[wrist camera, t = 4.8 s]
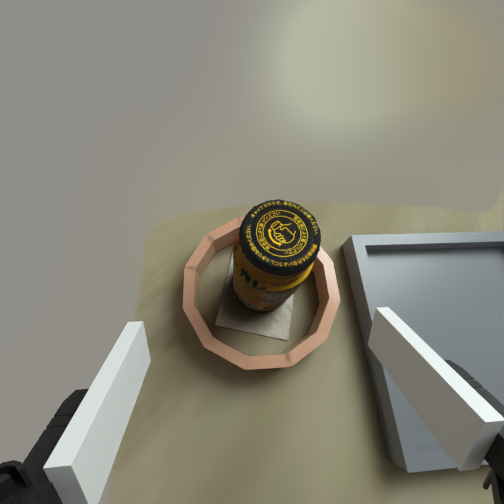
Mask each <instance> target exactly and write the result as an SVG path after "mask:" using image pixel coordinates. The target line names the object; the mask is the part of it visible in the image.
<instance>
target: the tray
mask: <svg viewBox="0 0 504 504" xmlns="http://www.w3.org/2000/svg"><path fill="white" fill-rule="evenodd" d="M342 247H343V252H344V256H345V261H346V265H347V270H348V274H349V279H350V284H351V288H352V293H353V297H354V302H355V307H356V311H357V316H358V320H359V325H360V329H361V334H362V339H363V343H364V348H365V352H366V357H367V362H368V366H369V371H370V375H371V380H372V384H373V389H374V394H375V398H376V403H377V407H378V412H379V417H380V421H381V426H382V430H383V435H384V440H385V444H386V449H387V453H388V458H389V461H391V462H392V463H394V464H395V465H397V466H398V467H400V468H401V469H403V470H404V471H406V472H407V473H413V472H422V471H431V470H441V469H450V468H457V467H456V465H455V464H454V463H453V461H452V460H451V459H450V457H449V456H448V455H447V453H446V452H445V450H444V449H443V448H442V446H441V445H440V444H439V442H438V441H437V439H436V438H435V437H434V435H433V434H432V433H431V431H430V430H429V428H428V427H427V426H426V424H425V423H424V422H423V420H422V419H421V417H420V416H419V415H418V413H417V412H416V411H415V409H414V408H413V407H412V405H411V404H410V402H409V401H408V400H407V398H406V397H405V396H404V394H403V393H402V391H401V390H400V389H399V387H398V386H397V385H396V383H395V382H394V380H393V379H392V378H391V376H390V375H389V374H388V372H387V371H386V369H385V368H384V367H383V365H382V364H381V363H380V361H379V360H378V359H377V357H376V356H375V354H374V353H373V352H372V350H371V349H370V348H369V346H368V341H369V337H370V332H371V327H372V323H373V318H374V314H375V309H376V308H379V307H389V308H390V309H391V310H392V311H393V312H394V313H395V314H396V315H397V316H398V317H399V318H400V319H401V320H402V321H403V322H404V323H406V324H407V325H408V326H409V327H410V328H411V329H412V330H413V331H414V332H415V333H416V334H417V335H418V336H419V337H420V338H421V339H422V340H423V341H424V342H425V343H426V344H427V345H428V346H429V347H431V348H432V349H433V350H434V351H435V352H436V353H437V354H438V355H439V356H440V357H441V358H442V359H443V360H451V361H452V362H454V363H455V364H457V365H459V366H460V367H462V368H463V369H464V370H466V371H467V372H468V373H469V374H470V375H471V376H472V377H473V378H474V380H476V381H478V382H479V383H480V384H481V385H482V386H483V388H484V389H486V390H487V391H488V392H490V393H491V394H492V395H493V396H494V397H495V398H496V399H497V400H498V401H499V402H500V403H502V404H503V405H504V231H497V232H459V233H422V234H384V235H351V236H350V237H349V238H348V239H347V240H346V242H345V243H344V244H343V245H342ZM487 464H488V463H487V462H486V460H485V459H484V461H483V462H482V464H481V465H487Z"/></svg>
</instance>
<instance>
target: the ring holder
mask: <svg viewBox="0 0 504 504" xmlns="http://www.w3.org/2000/svg"><path fill="white" fill-rule="evenodd" d="M244 218H245V217H238V218H236V219H234V220H232V221H230V222H228V223H227V224H225V225H223V226H221V227H219V228H217V229H215V230H213V231H212V232H210V233H208V234H206V235H205V236H204V238H203V239H202V241H201V242H200V244H199V246H198V247H197V249H196V250H195V252H194V253H193V255H192V256H191V258H190V259H189V261H188V262H187V264H186V265H185V267H184V288H183V310H184V312H185V313H186V315H187V317H188V319H189V321H190V323H191V324H192V326H193V328H194V330H195V332H196V333H197V335H198V337H199V339H200V341H201V343H202V344H203V346H204V348H206V349H208V350H210V351H212V352H214V353H215V354H217V355H219V356H221V357H223V358H224V359H226V360H228V361H230V362H232V363H233V364H235V365H237V366H239V367H241V368H242V369H244V370H252V369H266V368H281V367H292V366H293V365H294V364H296V363H297V362H298V361H300V360H301V359H302V358H304V357H305V356H306V355H307V354H309V353H310V352H311V351H313V350H314V349H315V348H317V347H318V346H319V345H320V344H322V343H323V342H324V341H326V340H327V337H328V334H329V332H330V329H331V326H332V323H333V320H334V317H335V315H336V312H337V309H338V306H339V303H340V301H341V300H340V295H339V290H338V285H337V280H336V275H335V270H334V265H333V261H332V260H331V259H330V258H329V256H328V255H327V254H326V253H325V251H324V250H323V249H322V248H321V246H320V251H319V252H318V255H317V257H316V258H315V261H314V264H313V267H312V271H313V273H314V274H315V280H316V286H317V292H318V298H319V307H318V309H317V312H316V315H315V317H314V320H313V322H312V325H311V328H310V330H309V333H308V335H306V336H305V337H304V338H302V339H301V340H300V341H298V342H297V343H295V344H294V345H293V346H291V347H290V348H289V349H287V350H286V351H285V352H283V353H282V354H277V355H262V356H246V355H244V354H242V353H240V352H239V351H237V350H235V349H233V348H231V347H229V346H228V345H226V344H224V343H222V342H220V341H218V340H217V339H215V338H214V336H213V334H212V333H211V331H210V329H209V327H208V326H207V324H206V322H205V320H204V319H203V317H202V315H201V313H200V312H199V278H200V277H201V275H202V273H203V272H204V270H205V269H206V267H207V265H208V264H209V262H210V260H211V259H212V257H213V256H214V254H215V253H216V252H217V251H219V250H221V249H223V248H225V247H226V246H228V245H230V244H232V243H233V242H235V240H236V238H237V236H238V234H239V232H240V226H241V224H242V221H243V219H244Z"/></svg>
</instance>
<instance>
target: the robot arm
mask: <svg viewBox="0 0 504 504" xmlns="http://www.w3.org/2000/svg"><path fill="white" fill-rule="evenodd" d="M368 346H369V348H370V349H371V350H372V352H373V353H374V354H375V356H376V357H377V359H378V360H379V361H380V363H381V364H382V365H383V367H384V368H385V369H386V371H387V372H388V374H389V375H390V376H391V378H392V379H393V380H394V382H395V383H396V385H397V386H398V387H399V389H400V390H401V391H402V393H403V394H404V396H405V397H406V398H407V400H408V401H409V402H410V404H411V405H412V407H413V408H414V409H415V411H416V412H417V413H418V415H419V416H420V417H421V419H422V420H423V422H424V423H425V424H426V426H427V427H428V428H429V430H430V431H431V433H432V434H433V435H434V437H435V438H436V439H437V441H438V442H439V444H440V445H441V446H442V448H443V449H444V450H445V452H446V453H447V455H448V456H449V457H450V459H451V460H452V461H453V463H454V464H455V465H456V467H457V468H458V470H459V471H468V470H477V469H479V468H480V466H481V464H482V462H483V461H484V459H485V460H486V462H487V463H488V464H489V465H490V466H491V467H492V469H491V471H490V472H489V474H488V476H487V477H486V479H485V481H484V483H483V488H484V489H486V490H487V489H488V487H489V485H490V484H491V485H492V491H493V498H494V504H504V405H503V404H502V403H500V402H499V401H498V400H497V399H496V398H495V397H494V396H493V395H492V394H491V393H490V392H488V391H487V390H486V389H484V388H483V386H482V385H481V384H480V383H479V382H478V381H476V380H474V378H473V377H472V376H471V375H470V374H469V373H468V372H467V371H466V370H464V369H463V368H462V367H460V366H459V365H457V364H455V363H454V362H452V361H451V360H443V359H442V358H441V357H440V356H439V355H438V354H437V353H436V352H435V351H434V350H433V349H432V348H431V347H429V346H428V345H427V344H426V343H425V342H424V341H423V340H422V339H421V338H420V337H419V336H418V335H417V334H416V333H415V332H414V331H413V330H412V329H411V328H410V327H409V326H408V325H407V324H406V323H404V322H403V321H402V320H401V319H400V318H399V317H398V316H397V315H396V314H395V313H394V312H393V311H392V310H391V309H390V308H389V307H379V308H376V309H375V314H374V318H373V323H372V327H371V332H370V337H369V341H368ZM150 361H151V359H150V354H149V349H148V344H147V339H146V334H145V329H144V325H143V321H139V322H128V323H127V325H126V327H125V328H124V330H123V332H122V334H121V335H120V337H119V339H118V340H117V342H116V344H115V346H114V347H113V349H112V351H111V352H110V354H109V356H108V357H107V359H106V361H105V363H104V364H103V366H102V368H101V370H100V371H99V373H98V375H97V376H96V378H95V380H94V382H93V383H92V385H91V387H90V388H89V389H82V390H75V391H74V392H73V393H72V394H71V395H70V396H69V397H68V398H67V399H66V400H65V401H64V402H63V403H62V404H61V406H60V407H59V409H58V410H57V412H56V414H55V415H54V418H52V420H51V421H50V423H49V424H48V426H47V429H46V430H44V432H43V433H42V435H41V436H40V438H39V440H38V441H37V443H36V444H35V445H34V447H33V448H32V450H31V452H30V453H29V455H28V456H27V458H26V459H25V461H24V462H23V464H22V463H21V462H18V461H14V460H13V461H8V462H3V463H1V464H0V504H98V503H99V500H100V498H101V495H102V492H103V490H104V487H105V484H106V481H107V479H108V476H109V473H110V470H111V468H112V465H113V462H114V460H115V457H116V454H117V451H118V449H119V446H120V443H121V440H122V438H123V435H124V432H125V430H126V427H127V424H128V421H129V419H130V416H131V413H132V410H133V408H134V405H135V402H136V400H137V397H138V394H139V391H140V389H141V386H142V383H143V380H144V378H145V375H146V372H147V369H148V367H149V364H150Z"/></svg>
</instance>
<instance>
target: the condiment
mask: <svg viewBox="0 0 504 504" xmlns="http://www.w3.org/2000/svg"><path fill="white" fill-rule="evenodd" d="M320 242H321V234H320V229H319V227H318V225H317V223H316V220H315V218H314V217H313V215H311V214H310V213H309V212H308V211H307V210H306V209H304V208H303V207H301V206H300V205H298V204H295V203H293V202H288V201H284V200H279V199H278V200H271V201H266V202H264V203H261V204H259V205H257V206H255V207H253V208H252V209H251V210H250V211H249V212H248V214H247V215H246V216H245V218H244V219H243V221H242V224H241V226H240V232H239V234H238V236H237V238H236V240H235V244H234V248H233V254H232V258H231V262H230V266H229V270H228V274H227V278H226V282H225V286H224V290H223V294H222V298H221V303H220V307H219V311H218V315H217V319H216V323H215V325H217V326H222V327H226V328H231V329H236V330H240V331H245V332H250V333H255V334H259V335H264V336H269V337H274V338H279V339H284V340H288V338H289V330H290V322H291V314H292V306H293V297H294V293H295V291H296V290H297V289H298V288H299V287H300V286H301V285H302V284H303V283H304V281H305V279H306V278H307V277H308V275H309V273H310V272H311V270H312V267H313V264H314V261H315V258H316V257H317V255H318V252H319V251H320ZM234 297H236V298H234ZM271 312H274V313H273V314H271ZM269 314H271V316H270V317H268V315H269Z"/></svg>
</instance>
